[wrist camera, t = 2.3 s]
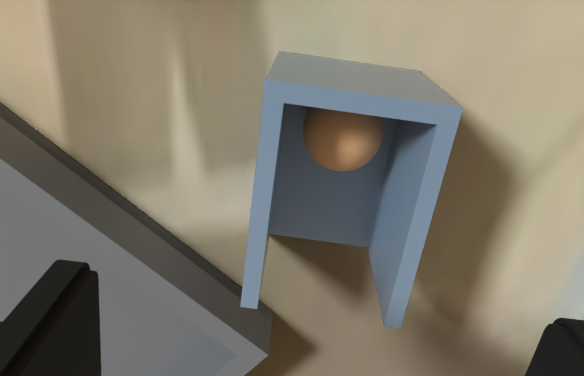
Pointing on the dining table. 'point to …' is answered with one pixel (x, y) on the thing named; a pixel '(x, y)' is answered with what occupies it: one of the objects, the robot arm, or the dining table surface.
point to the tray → (119, 267)
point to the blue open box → (355, 183)
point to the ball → (341, 138)
